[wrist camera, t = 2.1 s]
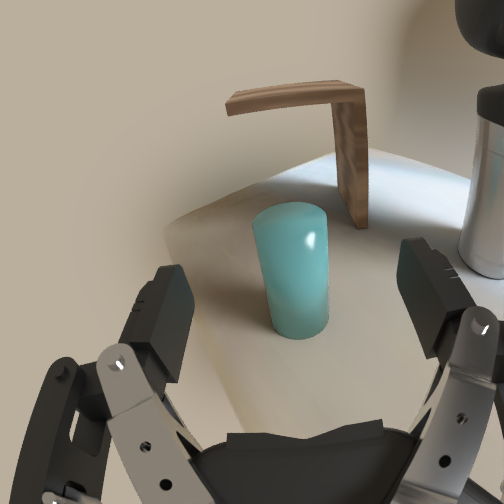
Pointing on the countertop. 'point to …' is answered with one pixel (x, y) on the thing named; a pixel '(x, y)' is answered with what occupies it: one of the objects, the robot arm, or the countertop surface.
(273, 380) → the countertop surface
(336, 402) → the countertop surface
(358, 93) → the shelf
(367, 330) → the countertop surface
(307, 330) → the teal rounded cylinder
